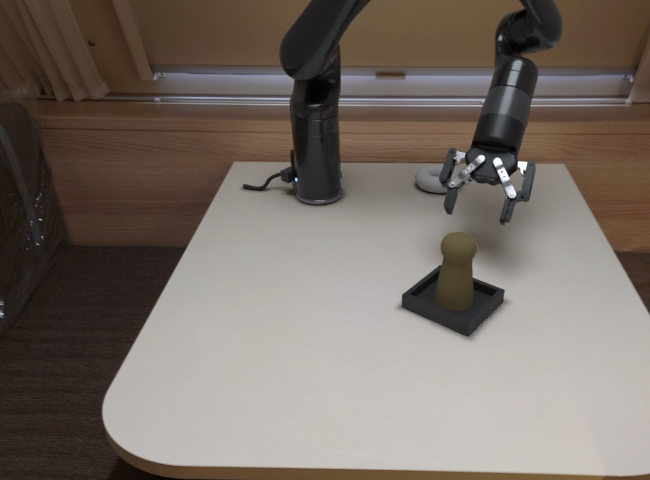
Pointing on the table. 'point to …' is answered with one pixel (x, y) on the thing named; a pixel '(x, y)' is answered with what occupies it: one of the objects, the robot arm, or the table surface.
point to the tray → (460, 321)
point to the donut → (432, 178)
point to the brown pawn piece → (456, 272)
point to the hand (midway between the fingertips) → (474, 218)
